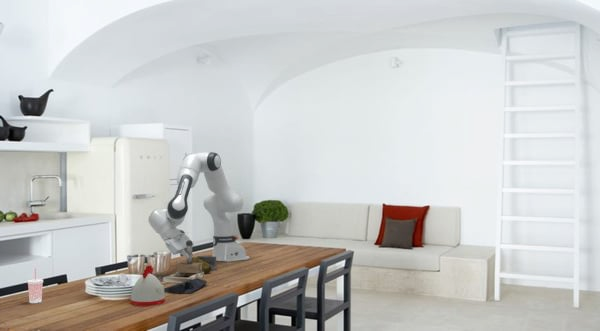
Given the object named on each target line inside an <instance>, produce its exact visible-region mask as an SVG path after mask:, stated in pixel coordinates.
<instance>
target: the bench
mask: <svg viewBox="0 0 600 331" xmlns="http://www.w3.org/2000/svg"><path fill="white" fill-rule="evenodd" d="M196 258H199V259H200V260H202V261H204V262H206V263H208V264H209V265H210V266H211V271H217V261H216V257H214V256H212V255H208V256H207V255H198V256H197V257H196ZM184 275H185V273H179V272H177V271H176V272H175V273H172V274H170V275H168V276H163V277H162V282H163V281H164V282H166V283H167V284H168V283H169V284H170V283H171V284H179V283H183V282H186V281H188V280H192V279H195V278H198V279H203V278H204V277H205V276H204V275H205V273H204V272H199V273H197V274H195V275H191V276H188V277H184ZM164 282H163V283H164Z"/></svg>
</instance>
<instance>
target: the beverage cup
mask: <svg viewBox="0 0 600 331" xmlns="http://www.w3.org/2000/svg"><path fill="white" fill-rule="evenodd" d="M43 283H44V279H43V278H37V268H36V267H35V268H34V278H33V279H28V280H27V285H28V286H27V287H28V299H29V303H30V304H38V302H39V303H42V299H43Z"/></svg>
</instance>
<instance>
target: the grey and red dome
mask: <svg viewBox="0 0 600 331" xmlns="http://www.w3.org/2000/svg"><path fill="white" fill-rule="evenodd" d="M153 272H154V267H153V266H152V265H147V266H145V269H143V272H142V273H141V276H139V278H138V279H137V280H136V281H135V283H134V285H132V286H131V295H130V304H131V305H133V306H139V307H146V306H147V307H149V306H158V305H161V304H163V303H165V301H166V296H165V292H164V288H165V286H164V284H162V282H160V280H159V279H158V278H157V276H156V275H154V274H153Z"/></svg>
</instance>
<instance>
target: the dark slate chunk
mask: <svg viewBox="0 0 600 331" xmlns="http://www.w3.org/2000/svg"><path fill="white" fill-rule="evenodd" d="M207 282H208V281H206V280H205V279H203V278H200V279H198V278H195V279H192V280H188V281H186V282H183V283H175V284H173V285H170V286H167V287H164V294H165V293H167V294H169V293H170V294H178V295H190V294H193V293H194V292H196V291H198V290H199V289H201V288H203V287H204V286H205V285H206V284H207Z"/></svg>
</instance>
